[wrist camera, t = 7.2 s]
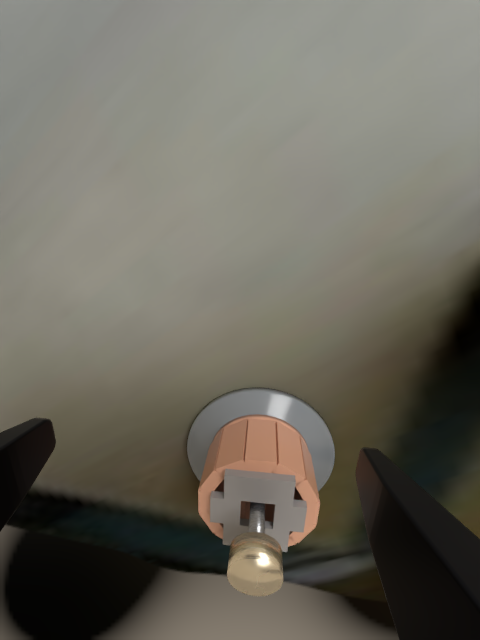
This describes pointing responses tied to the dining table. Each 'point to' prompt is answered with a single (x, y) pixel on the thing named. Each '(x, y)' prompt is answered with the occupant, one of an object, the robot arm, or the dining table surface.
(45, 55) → the dining table surface
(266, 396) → the disc
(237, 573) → the plunger
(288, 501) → the orange slatted barrel
